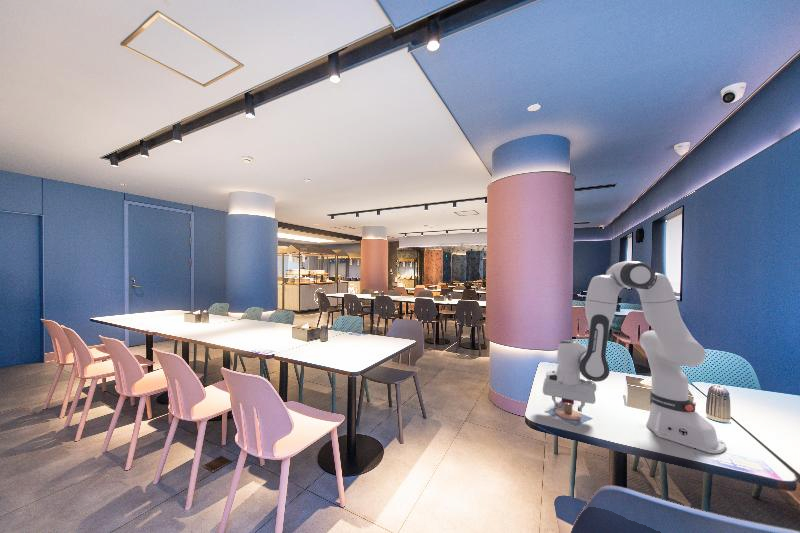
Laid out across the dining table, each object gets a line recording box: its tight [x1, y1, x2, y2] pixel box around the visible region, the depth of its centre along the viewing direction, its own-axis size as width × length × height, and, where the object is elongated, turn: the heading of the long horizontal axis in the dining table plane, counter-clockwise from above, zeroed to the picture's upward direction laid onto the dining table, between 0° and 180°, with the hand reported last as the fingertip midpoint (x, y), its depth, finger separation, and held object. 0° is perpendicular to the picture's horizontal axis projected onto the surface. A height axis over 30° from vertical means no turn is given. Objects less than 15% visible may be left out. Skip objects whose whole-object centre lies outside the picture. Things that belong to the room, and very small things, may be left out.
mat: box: [544, 405, 594, 427], centre depth 133 cm, size 14×13×1 cm
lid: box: [555, 402, 582, 420], centre depth 133 cm, size 10×10×5 cm
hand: (567, 408), depth 133 cm, fingers open, 8 cm apart
